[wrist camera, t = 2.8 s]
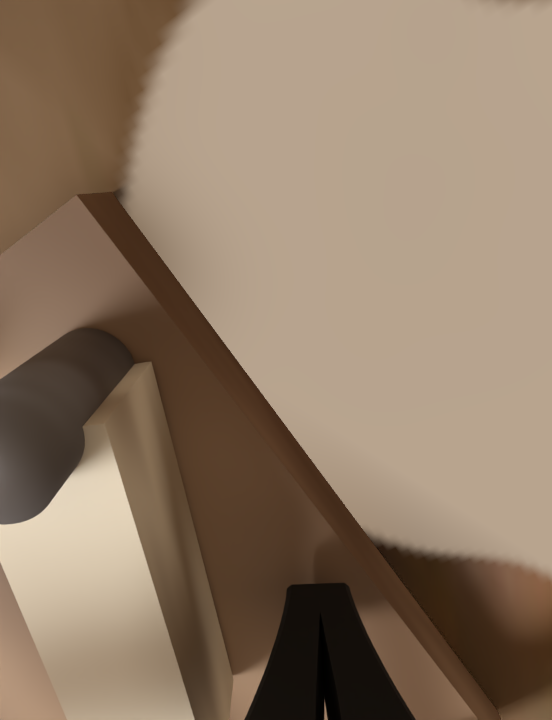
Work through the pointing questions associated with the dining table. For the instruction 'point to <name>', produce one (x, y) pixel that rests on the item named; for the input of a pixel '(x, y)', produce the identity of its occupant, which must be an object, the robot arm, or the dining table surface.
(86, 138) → the dining table surface
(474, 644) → the dining table surface
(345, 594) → the robot arm
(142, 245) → the stool seat
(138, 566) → the stool leg
